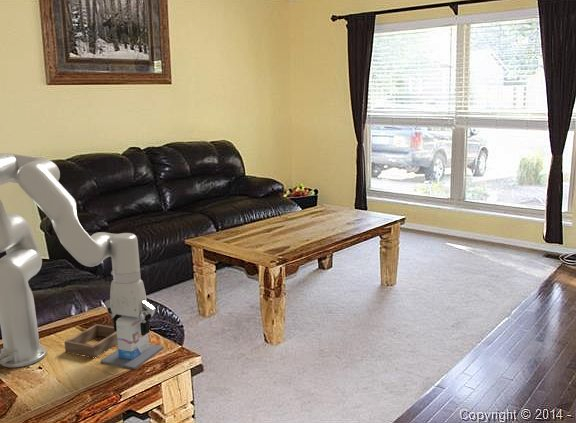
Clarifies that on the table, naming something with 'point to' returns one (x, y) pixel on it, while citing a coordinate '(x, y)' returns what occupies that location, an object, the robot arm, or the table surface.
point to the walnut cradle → (78, 341)
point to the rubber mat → (134, 363)
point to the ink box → (130, 337)
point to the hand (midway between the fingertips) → (131, 331)
